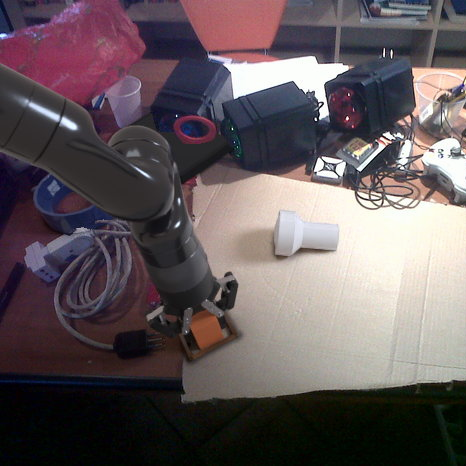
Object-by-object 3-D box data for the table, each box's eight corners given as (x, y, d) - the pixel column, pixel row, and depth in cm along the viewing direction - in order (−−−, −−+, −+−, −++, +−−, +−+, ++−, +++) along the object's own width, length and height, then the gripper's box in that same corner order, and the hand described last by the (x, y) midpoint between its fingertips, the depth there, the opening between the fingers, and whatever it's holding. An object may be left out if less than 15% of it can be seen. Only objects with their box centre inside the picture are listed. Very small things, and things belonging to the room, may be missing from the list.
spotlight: (273, 223, 91) (277, 200, 84) (333, 228, 92) (342, 206, 85) (271, 262, 87) (275, 241, 80) (333, 267, 88) (342, 247, 81)
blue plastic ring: (56, 248, 91) (41, 228, 87) (41, 199, 100) (27, 178, 95) (134, 216, 96) (124, 195, 91) (114, 172, 104) (103, 150, 100)
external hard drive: (184, 187, 100) (181, 176, 98) (120, 142, 111) (115, 132, 109) (235, 151, 107) (232, 141, 105) (170, 113, 117) (166, 102, 115)
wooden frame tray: (192, 364, 75) (190, 360, 74) (157, 286, 85) (154, 281, 83) (239, 339, 77) (238, 335, 76) (199, 266, 87) (197, 261, 86)
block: (201, 351, 76) (192, 332, 71) (191, 331, 78) (182, 312, 73) (224, 339, 77) (217, 319, 72) (214, 320, 79) (207, 300, 74)
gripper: (217, 226, 68) (237, 294, 81) (117, 270, 63) (155, 334, 76) (240, 263, 63) (257, 328, 76) (134, 313, 59) (171, 373, 72)
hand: (206, 331), depth 76 cm, fingers closed on block, 4 cm apart
